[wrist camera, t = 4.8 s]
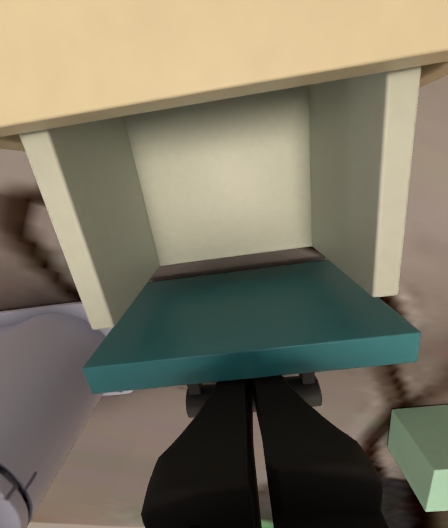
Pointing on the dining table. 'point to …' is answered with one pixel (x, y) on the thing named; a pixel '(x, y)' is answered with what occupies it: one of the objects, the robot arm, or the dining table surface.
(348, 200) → the drawer
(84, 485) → the dining table surface
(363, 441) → the dining table surface
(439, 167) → the dining table surface
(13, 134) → the beige box
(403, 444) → the sage green cube
